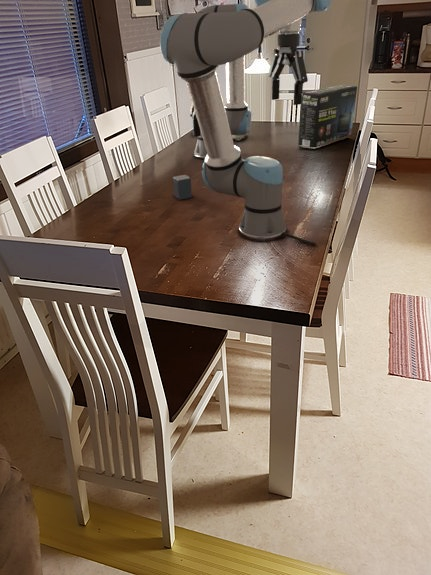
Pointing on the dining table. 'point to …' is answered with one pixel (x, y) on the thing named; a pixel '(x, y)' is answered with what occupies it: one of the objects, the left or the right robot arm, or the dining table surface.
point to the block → (182, 187)
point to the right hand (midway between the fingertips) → (286, 102)
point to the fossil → (238, 136)
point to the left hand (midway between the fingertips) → (204, 139)
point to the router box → (326, 115)
